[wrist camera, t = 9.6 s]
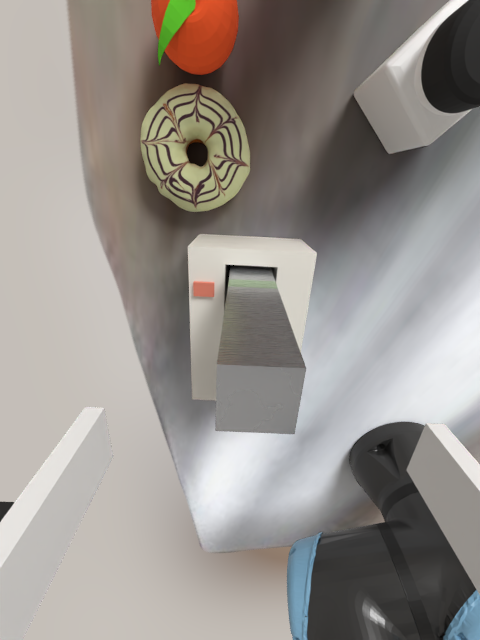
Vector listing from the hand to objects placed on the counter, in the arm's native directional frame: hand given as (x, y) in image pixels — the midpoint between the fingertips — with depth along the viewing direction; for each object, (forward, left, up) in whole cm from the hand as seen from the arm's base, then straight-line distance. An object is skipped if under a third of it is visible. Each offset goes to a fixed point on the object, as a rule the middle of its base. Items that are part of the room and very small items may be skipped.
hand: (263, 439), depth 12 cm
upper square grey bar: (0, 0, -20) cm, 20 cm away
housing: (-5, 0, -26) cm, 26 cm away
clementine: (+21, +6, -26) cm, 34 cm away
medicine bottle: (+18, -14, -26) cm, 35 cm away
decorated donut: (+12, +6, -26) cm, 30 cm away
